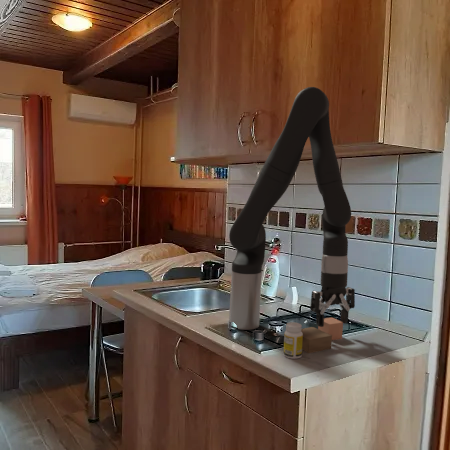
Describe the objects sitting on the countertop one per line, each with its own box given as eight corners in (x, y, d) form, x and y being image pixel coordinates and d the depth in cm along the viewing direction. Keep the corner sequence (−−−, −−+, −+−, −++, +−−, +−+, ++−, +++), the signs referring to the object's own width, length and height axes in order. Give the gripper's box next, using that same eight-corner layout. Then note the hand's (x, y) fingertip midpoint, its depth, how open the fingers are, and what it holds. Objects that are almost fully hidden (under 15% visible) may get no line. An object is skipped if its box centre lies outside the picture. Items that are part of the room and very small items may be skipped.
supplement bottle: (299, 352, 124) (301, 321, 124) (303, 359, 120) (305, 327, 119) (282, 352, 124) (283, 321, 123) (284, 359, 120) (286, 327, 119)
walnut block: (290, 344, 131) (290, 330, 131) (311, 340, 135) (312, 326, 135) (308, 354, 124) (309, 339, 124) (331, 349, 128) (332, 335, 128)
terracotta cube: (317, 335, 139) (318, 319, 138) (331, 333, 141) (332, 317, 140) (328, 341, 134) (329, 324, 134) (342, 338, 137) (343, 322, 136)
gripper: (345, 266, 141) (343, 318, 143) (306, 269, 135) (304, 323, 137) (362, 270, 135) (359, 325, 136) (322, 274, 129) (320, 331, 130)
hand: (332, 324), depth 137 cm, fingers open, 8 cm apart
